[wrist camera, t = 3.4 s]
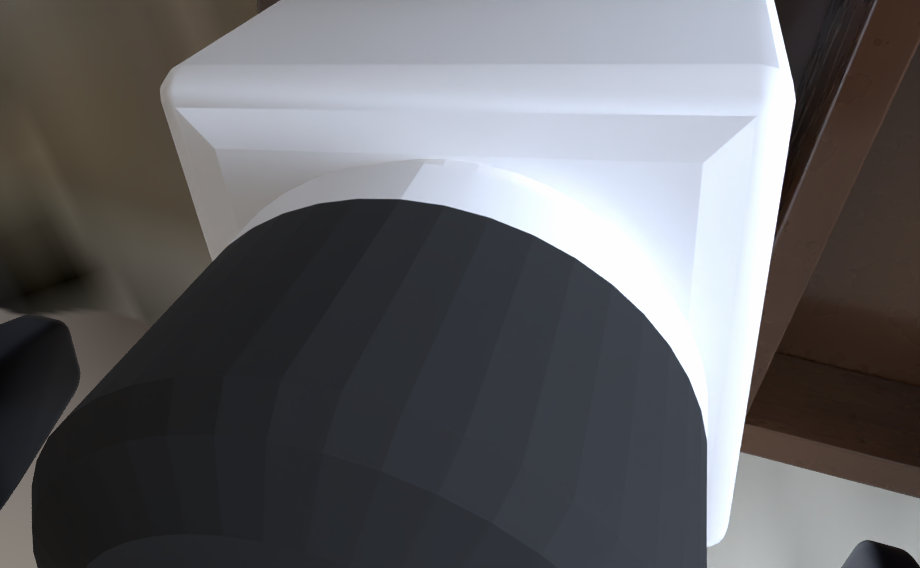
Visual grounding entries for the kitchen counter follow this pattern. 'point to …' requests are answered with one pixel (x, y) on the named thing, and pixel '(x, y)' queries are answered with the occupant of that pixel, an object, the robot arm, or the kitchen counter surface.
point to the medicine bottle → (446, 294)
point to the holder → (844, 251)
